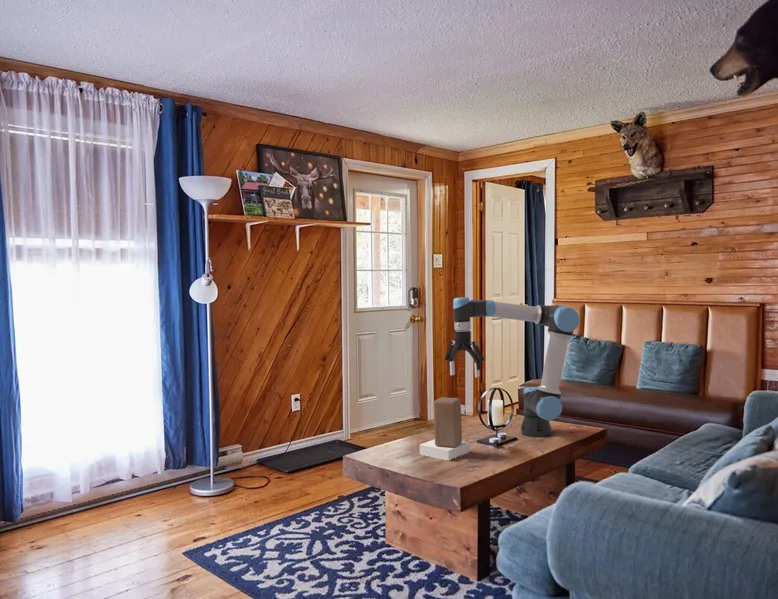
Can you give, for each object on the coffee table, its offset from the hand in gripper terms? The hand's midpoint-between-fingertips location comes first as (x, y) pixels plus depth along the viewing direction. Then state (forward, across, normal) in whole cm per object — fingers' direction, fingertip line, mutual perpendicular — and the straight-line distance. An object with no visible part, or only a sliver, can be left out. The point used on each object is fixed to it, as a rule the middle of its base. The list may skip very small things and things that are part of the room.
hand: (464, 375), depth 286 cm
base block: (+33, -1, -18) cm, 37 cm away
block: (+28, +1, -18) cm, 33 cm away
